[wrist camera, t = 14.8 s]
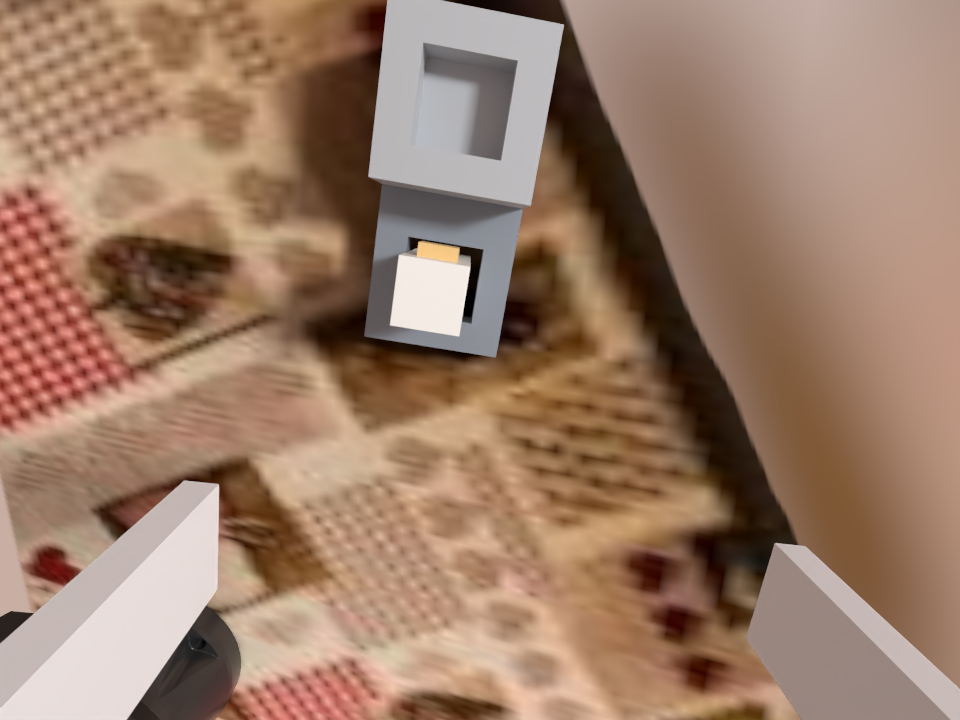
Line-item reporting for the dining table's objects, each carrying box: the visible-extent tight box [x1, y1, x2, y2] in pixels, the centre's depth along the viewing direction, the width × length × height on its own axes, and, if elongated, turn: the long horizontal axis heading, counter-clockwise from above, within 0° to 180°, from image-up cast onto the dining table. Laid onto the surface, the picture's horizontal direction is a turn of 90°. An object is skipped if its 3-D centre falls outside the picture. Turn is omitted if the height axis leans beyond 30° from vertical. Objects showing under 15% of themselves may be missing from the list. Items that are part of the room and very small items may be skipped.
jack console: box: [364, 0, 564, 357], centre depth 35 cm, size 10×21×8 cm, turn 170°
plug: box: [390, 241, 471, 336], centre depth 35 cm, size 4×5×12 cm
